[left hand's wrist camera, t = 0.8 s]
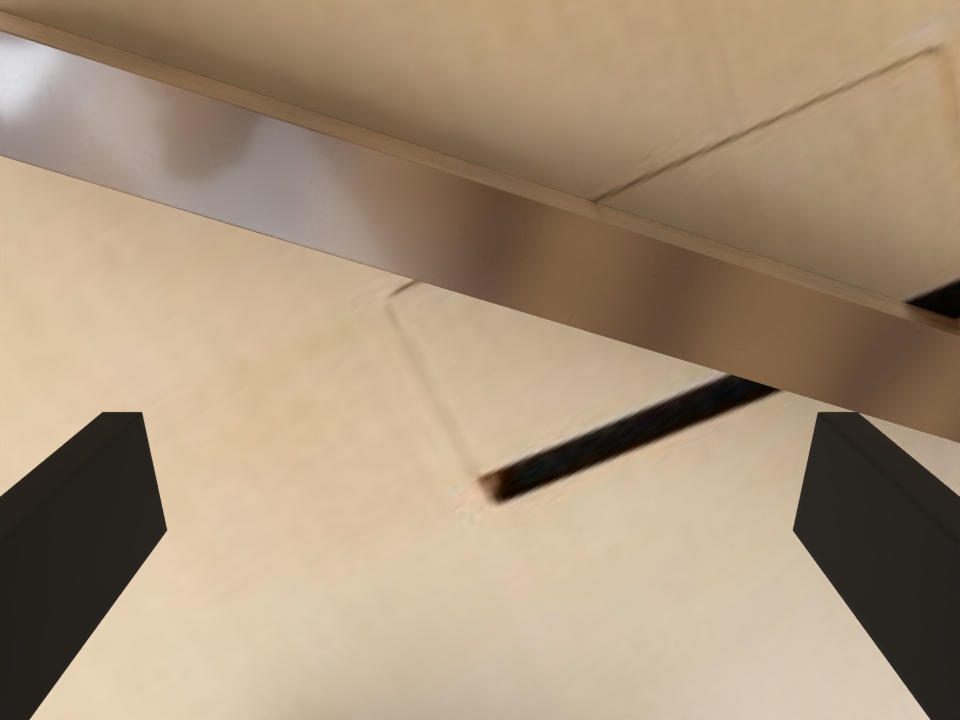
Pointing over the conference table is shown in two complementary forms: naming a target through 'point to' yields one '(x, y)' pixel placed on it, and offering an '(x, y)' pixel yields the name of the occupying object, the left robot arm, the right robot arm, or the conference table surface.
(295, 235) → the beam
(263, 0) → the conference table surface
